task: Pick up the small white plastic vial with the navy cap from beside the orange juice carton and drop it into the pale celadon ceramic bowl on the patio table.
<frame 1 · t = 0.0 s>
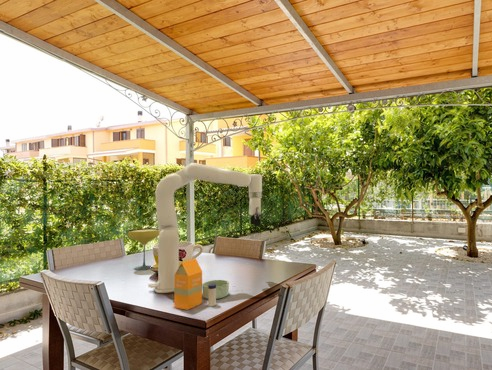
hand: (255, 225, 183), 31 cm above the table, tool pointing down, fingers open, 9 cm apart
orange juice: (188, 305, 142), on the table
bowl: (215, 295, 155), on the table
cocktail glass: (144, 268, 208), on the table
vial: (212, 304, 142), on the table
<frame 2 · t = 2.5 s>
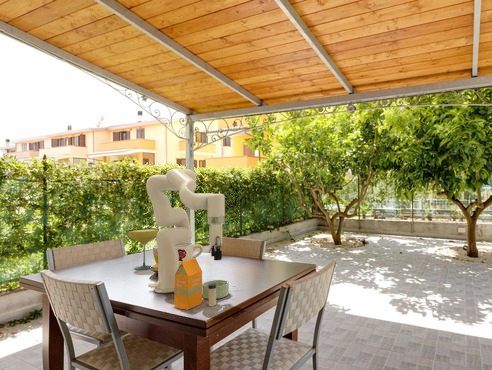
hand: (216, 258, 145), 20 cm above the table, tool pointing down, fingers open, 9 cm apart
nothing on the table moved.
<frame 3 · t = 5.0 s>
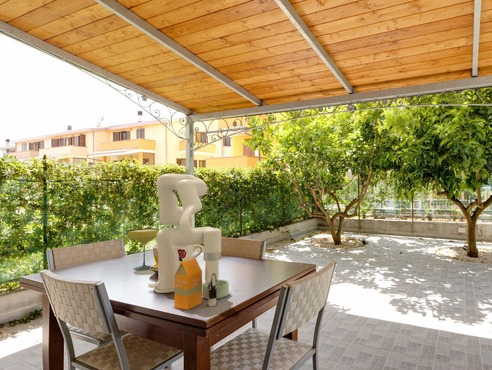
hand: (212, 296, 143), 4 cm above the table, tool pointing down, fingers closed on vial, 3 cm apart
vial: (212, 304, 142), on the table, touching gripper
everything else where it was.
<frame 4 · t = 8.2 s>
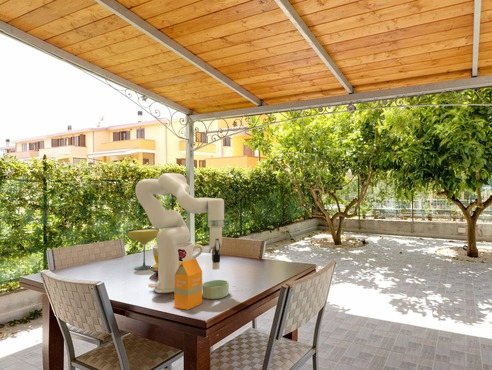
hand: (215, 261, 154), 17 cm above the table, tool pointing down, fingers closed on vial, 3 cm apart
vial: (215, 268, 154), point 13 cm above the table, touching gripper
everything else where it was.
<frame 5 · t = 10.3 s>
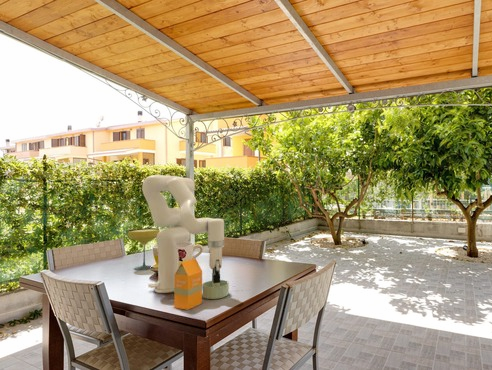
hand: (216, 281, 155), 7 cm above the table, tool pointing down, fingers closed on vial, 3 cm apart
vial: (216, 288, 155), point 3 cm above the table, touching gripper
everything else where it was.
when the fingers open (5 cm above the table, at t = 12.1 s): vial stays where it is, resting on bowl.
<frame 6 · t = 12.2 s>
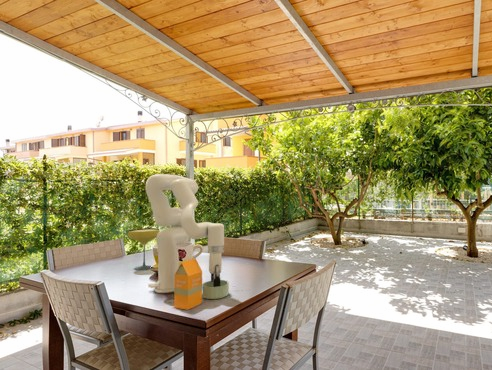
hand: (215, 284, 155), 6 cm above the table, tool pointing down, fingers open, 9 cm apart
vial: (216, 294, 155), point 1 cm above the table, touching bowl
everything else where it was.
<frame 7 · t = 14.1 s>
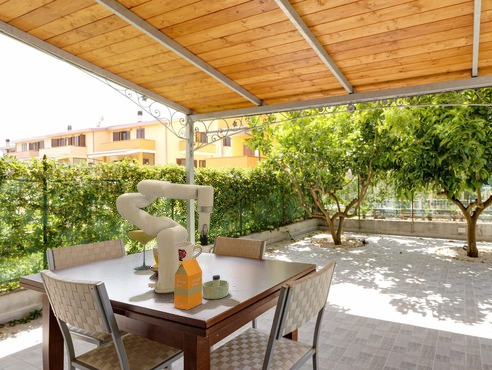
hand: (203, 243, 161), 24 cm above the table, tool pointing down, fingers open, 9 cm apart
nothing on the table moved.
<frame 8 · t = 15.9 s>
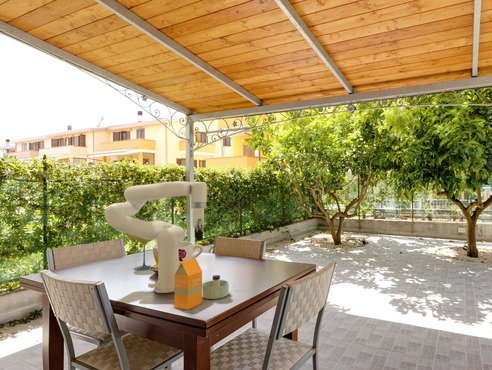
hand: (198, 238, 165), 26 cm above the table, tool pointing down, fingers open, 9 cm apart
nothing on the table moved.
at the end: vial inside the target area in the bowl (0.2 cm from its centre), point 0.6 cm above the bowl's base; the gripper is holding nothing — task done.
